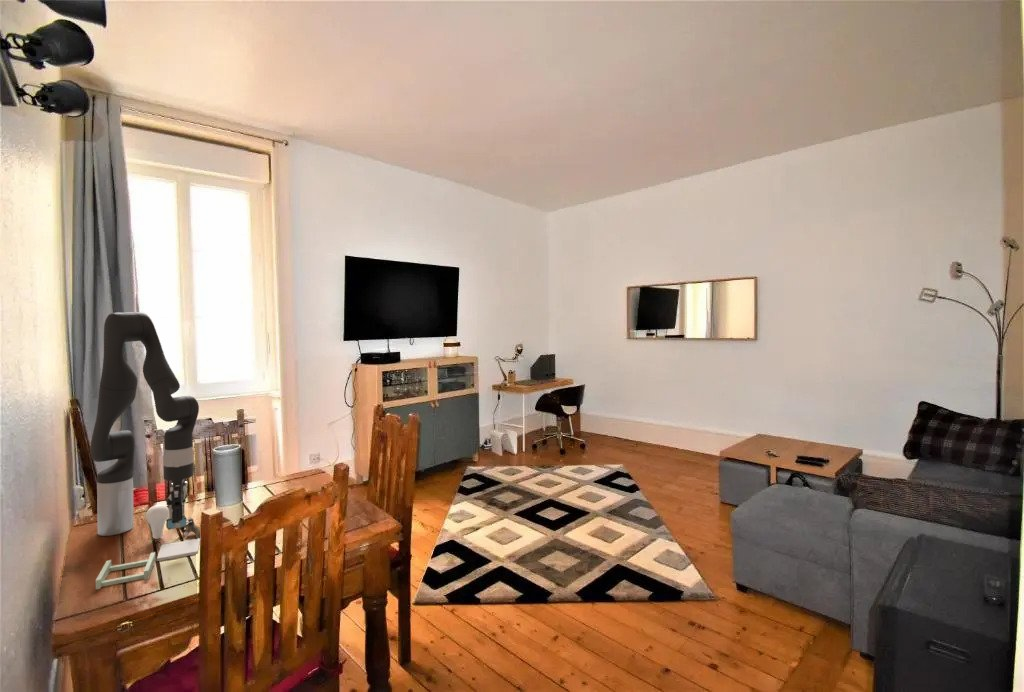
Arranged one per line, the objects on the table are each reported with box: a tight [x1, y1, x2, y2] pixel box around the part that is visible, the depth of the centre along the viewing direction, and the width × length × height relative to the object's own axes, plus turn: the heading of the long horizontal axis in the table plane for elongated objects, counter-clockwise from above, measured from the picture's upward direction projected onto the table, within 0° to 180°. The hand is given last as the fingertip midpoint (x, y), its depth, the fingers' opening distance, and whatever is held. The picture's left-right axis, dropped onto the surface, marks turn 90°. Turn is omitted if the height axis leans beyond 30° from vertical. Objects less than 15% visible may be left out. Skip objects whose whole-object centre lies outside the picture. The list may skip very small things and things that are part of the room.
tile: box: [156, 538, 201, 562], centre depth 145 cm, size 10×10×1 cm
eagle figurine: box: [177, 517, 201, 540], centre depth 155 cm, size 8×7×9 cm
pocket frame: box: [95, 551, 156, 590], centre depth 131 cm, size 12×11×2 cm
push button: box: [165, 493, 193, 531], centre depth 145 cm, size 7×5×10 cm
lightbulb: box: [145, 504, 169, 540], centre depth 153 cm, size 6×6×11 cm
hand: (179, 517), depth 145 cm, fingers closed on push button, 4 cm apart
